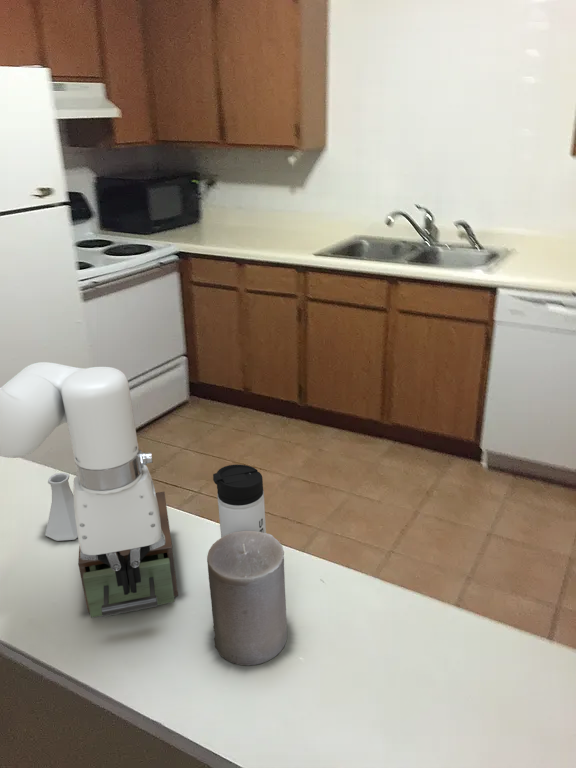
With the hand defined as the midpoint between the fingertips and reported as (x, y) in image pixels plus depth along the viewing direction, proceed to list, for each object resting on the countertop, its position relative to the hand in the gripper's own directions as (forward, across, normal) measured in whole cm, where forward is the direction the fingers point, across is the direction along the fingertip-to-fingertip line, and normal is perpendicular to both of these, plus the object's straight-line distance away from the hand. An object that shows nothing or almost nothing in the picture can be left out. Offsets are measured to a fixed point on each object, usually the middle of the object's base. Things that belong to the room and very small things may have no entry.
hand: (130, 586), depth 88 cm
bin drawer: (+6, 0, -6) cm, 8 cm away
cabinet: (+6, 0, -12) cm, 13 cm away
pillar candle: (+7, -15, +6) cm, 17 cm away
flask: (+7, +10, -26) cm, 28 cm away
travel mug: (+7, -16, -2) cm, 17 cm away
